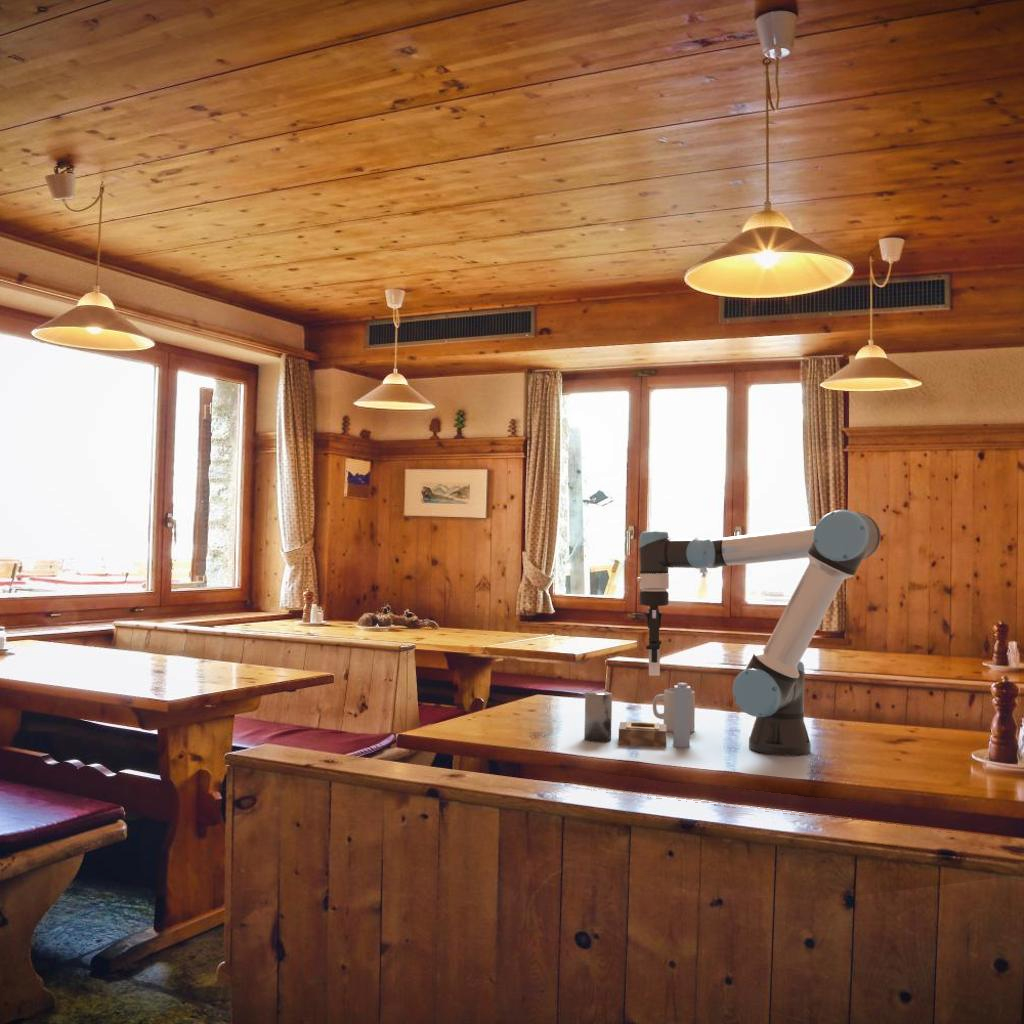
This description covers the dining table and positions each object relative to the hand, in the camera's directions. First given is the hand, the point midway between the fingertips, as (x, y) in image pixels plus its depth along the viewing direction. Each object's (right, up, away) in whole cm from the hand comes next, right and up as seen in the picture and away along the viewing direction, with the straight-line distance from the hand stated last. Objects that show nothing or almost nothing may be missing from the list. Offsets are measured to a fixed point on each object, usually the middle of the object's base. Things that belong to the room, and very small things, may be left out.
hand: (654, 672), depth 248 cm
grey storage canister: (-14, -18, +2) cm, 23 cm away
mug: (+8, -19, +19) cm, 28 cm away
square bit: (+7, -18, -3) cm, 20 cm away
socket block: (-3, -18, 0) cm, 18 cm away
